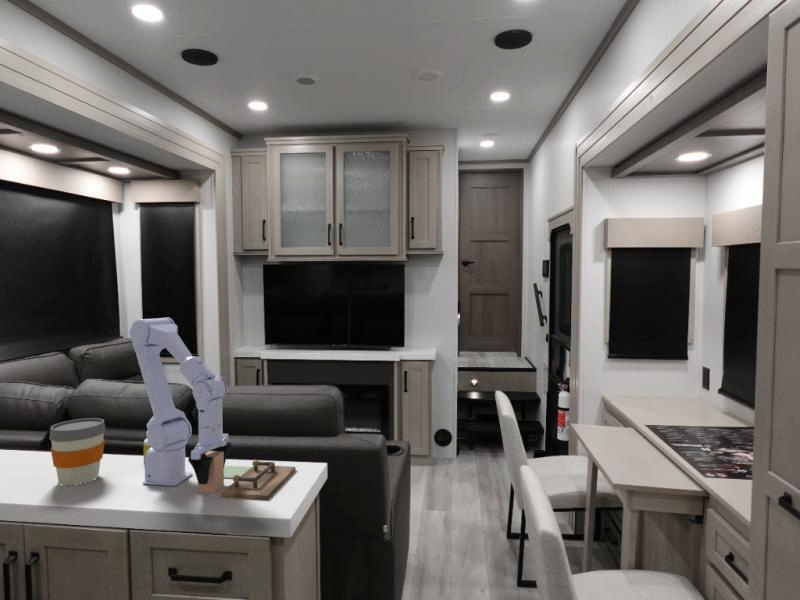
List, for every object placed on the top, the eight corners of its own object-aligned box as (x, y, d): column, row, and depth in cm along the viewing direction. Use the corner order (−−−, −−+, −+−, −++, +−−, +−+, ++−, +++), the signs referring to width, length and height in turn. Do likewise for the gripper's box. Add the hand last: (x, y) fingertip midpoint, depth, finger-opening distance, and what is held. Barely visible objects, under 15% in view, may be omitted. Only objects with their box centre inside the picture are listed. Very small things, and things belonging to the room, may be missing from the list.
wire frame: (221, 496, 117) (221, 481, 117) (255, 468, 136) (255, 454, 136) (267, 499, 115) (267, 483, 115) (295, 470, 134) (295, 456, 134)
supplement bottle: (155, 468, 136) (155, 434, 136) (139, 466, 137) (139, 433, 137) (168, 461, 141) (168, 428, 141) (152, 460, 142) (152, 427, 142)
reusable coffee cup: (37, 486, 124) (36, 429, 123) (80, 468, 136) (79, 416, 135) (76, 491, 121) (75, 432, 120) (117, 472, 133) (116, 419, 132)
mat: (211, 477, 129) (211, 476, 129) (226, 466, 137) (226, 465, 137) (238, 479, 128) (238, 477, 128) (252, 467, 136) (252, 466, 136)
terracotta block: (198, 492, 120) (197, 456, 120) (207, 484, 124) (207, 450, 124) (214, 493, 119) (214, 457, 119) (223, 485, 124) (223, 451, 123)
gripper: (209, 434, 114) (210, 490, 114) (238, 418, 128) (239, 467, 128) (182, 433, 115) (183, 488, 115) (214, 417, 129) (214, 466, 129)
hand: (211, 477), depth 122 cm, fingers open, 7 cm apart
